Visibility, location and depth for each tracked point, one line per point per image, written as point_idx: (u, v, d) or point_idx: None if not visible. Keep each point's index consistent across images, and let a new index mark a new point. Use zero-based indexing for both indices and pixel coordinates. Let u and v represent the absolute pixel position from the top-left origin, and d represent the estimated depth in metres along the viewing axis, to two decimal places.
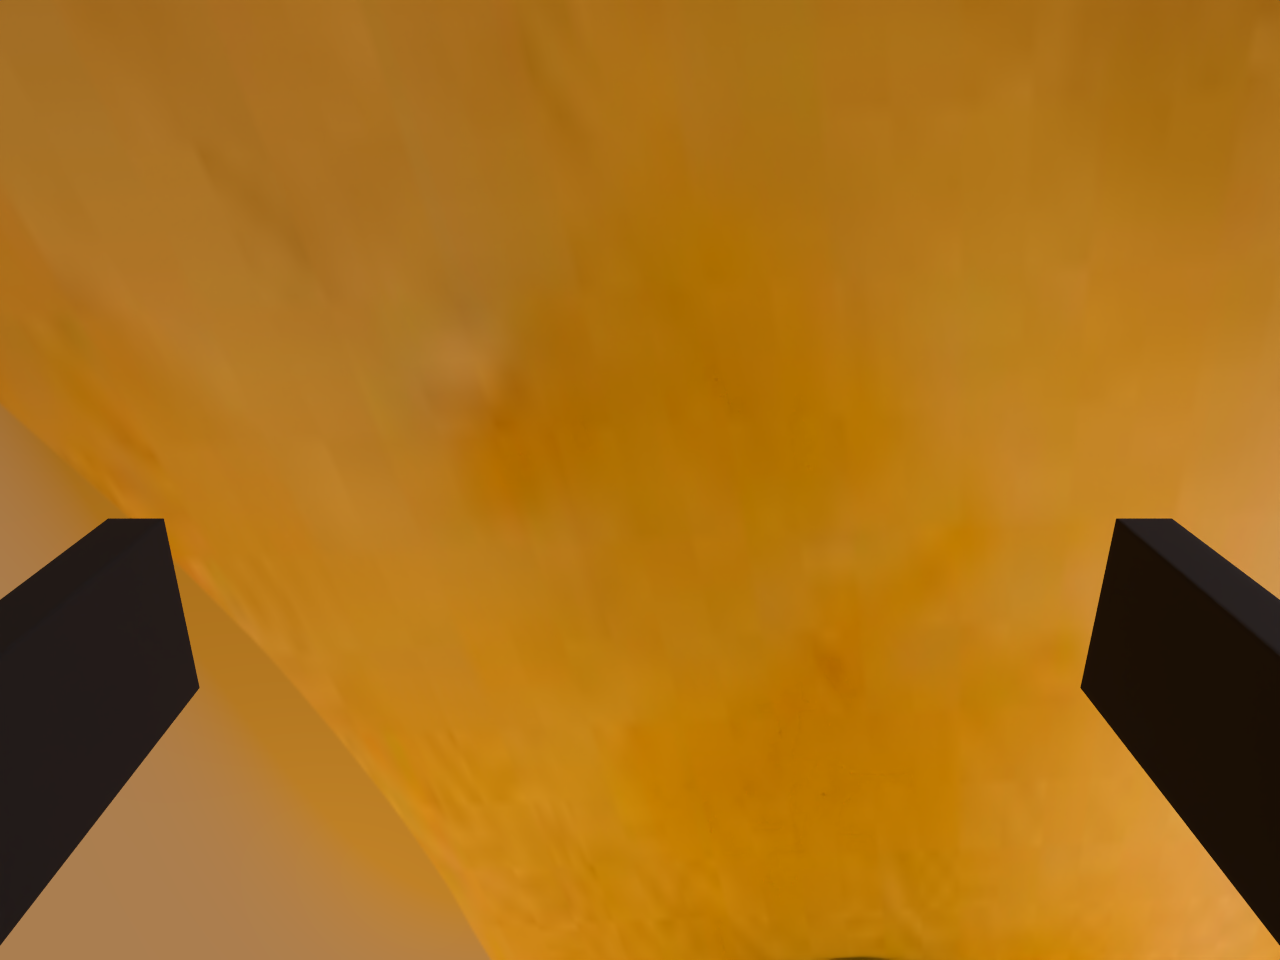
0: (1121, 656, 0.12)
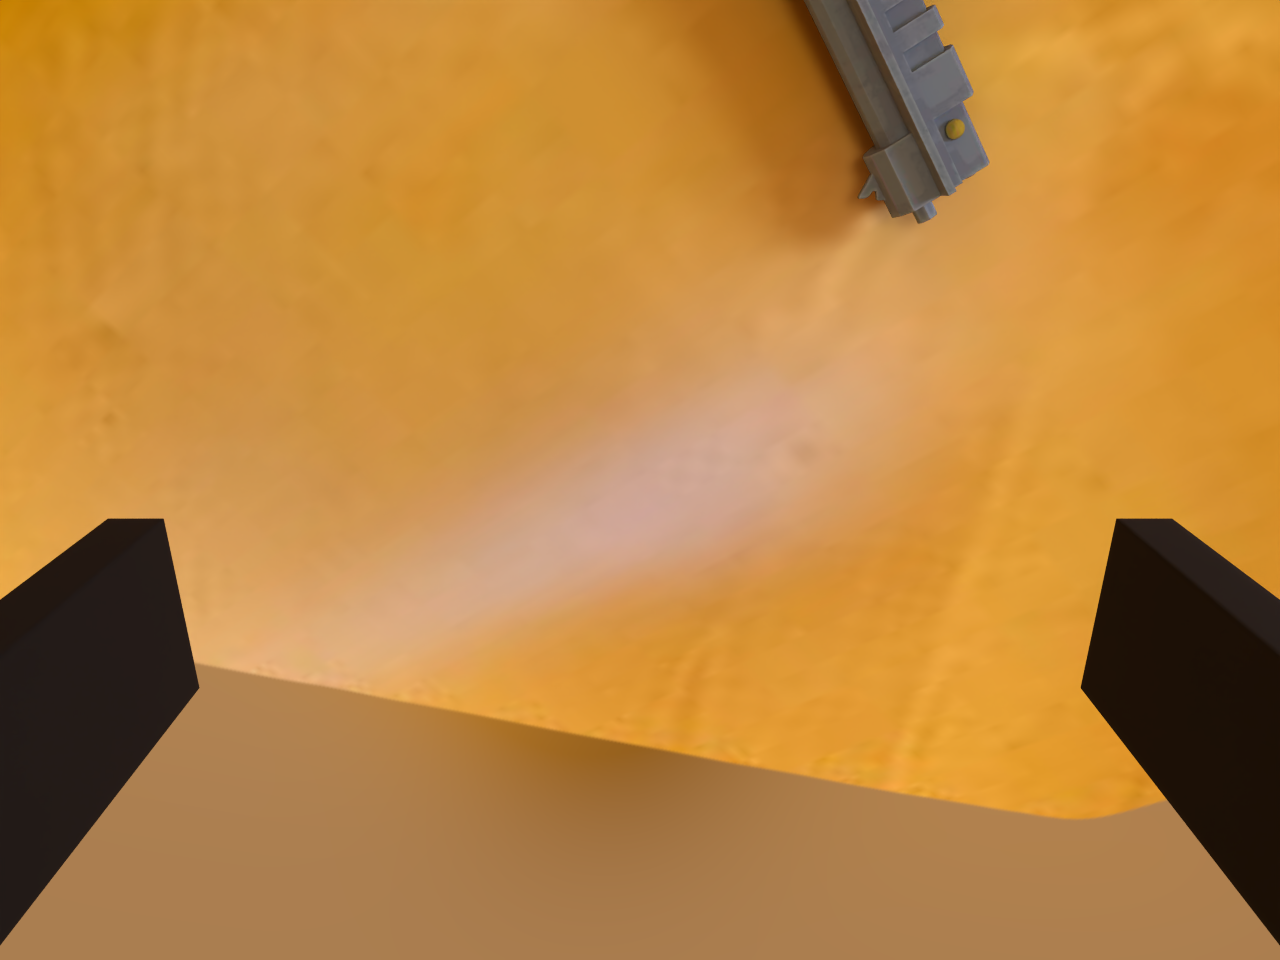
0: (1121, 656, 0.12)
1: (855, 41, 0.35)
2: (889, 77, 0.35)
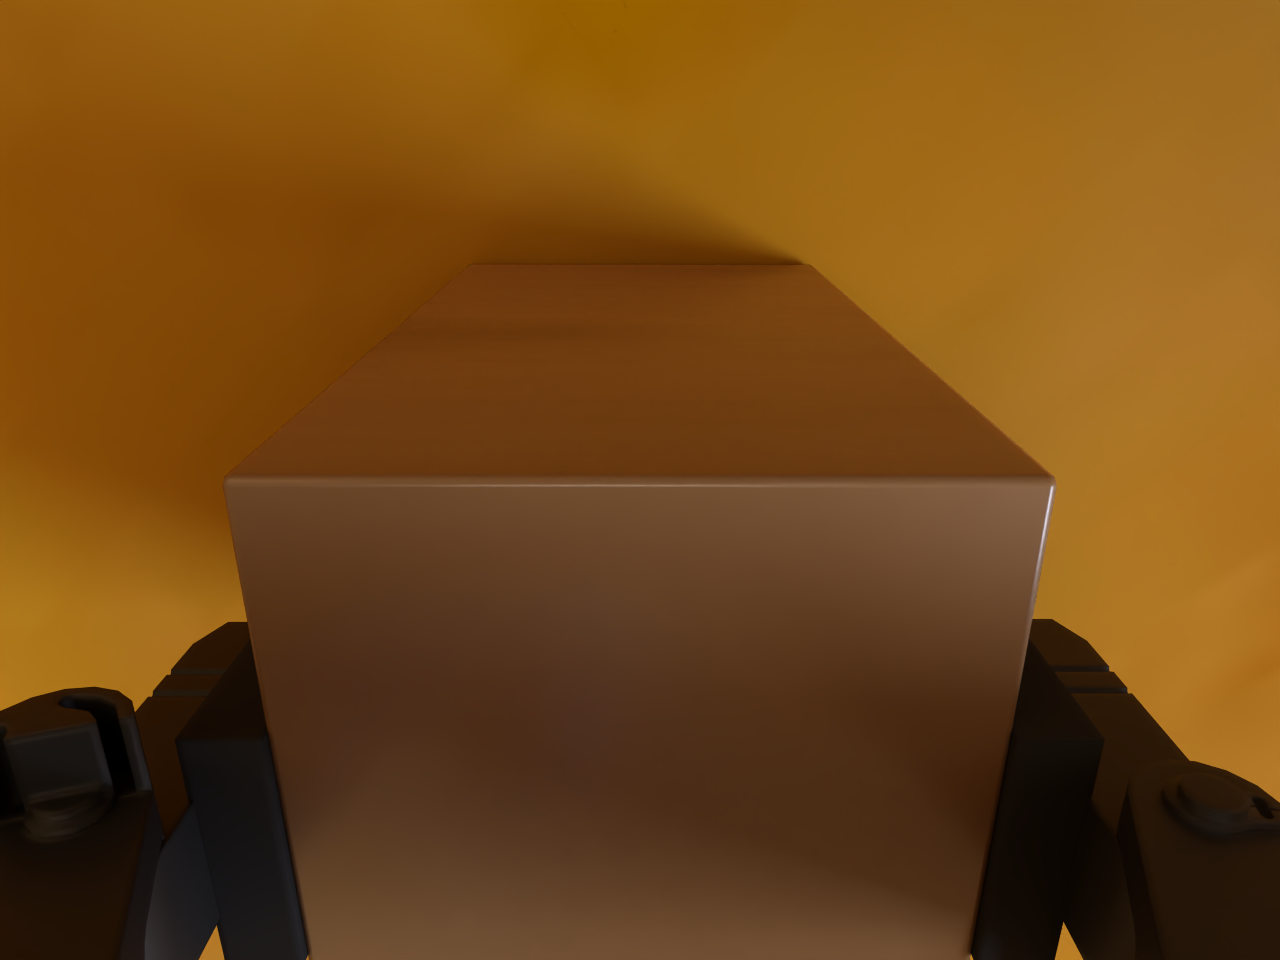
0: None
1: None
2: None
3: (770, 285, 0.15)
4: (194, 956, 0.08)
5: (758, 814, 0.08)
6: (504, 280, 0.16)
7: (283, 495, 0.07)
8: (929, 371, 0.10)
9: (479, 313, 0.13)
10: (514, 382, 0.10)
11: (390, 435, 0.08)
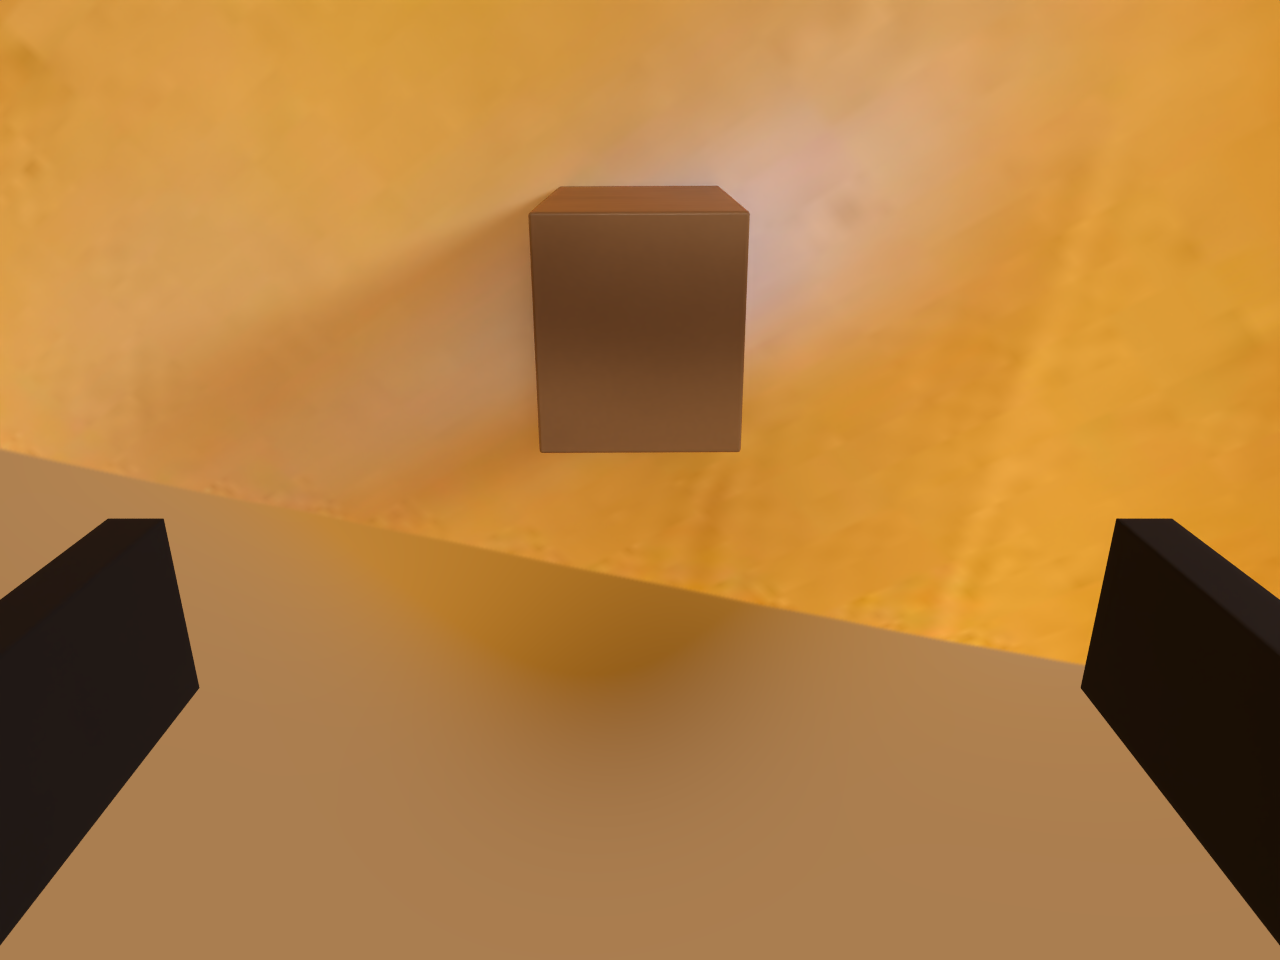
0: (1121, 656, 0.12)
1: None
2: None
3: (695, 190, 0.35)
4: None
5: (674, 322, 0.28)
6: (579, 189, 0.36)
7: (545, 217, 0.27)
8: (736, 202, 0.30)
9: (575, 195, 0.33)
10: (598, 204, 0.30)
11: (568, 208, 0.28)
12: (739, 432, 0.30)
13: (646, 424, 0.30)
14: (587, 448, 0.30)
